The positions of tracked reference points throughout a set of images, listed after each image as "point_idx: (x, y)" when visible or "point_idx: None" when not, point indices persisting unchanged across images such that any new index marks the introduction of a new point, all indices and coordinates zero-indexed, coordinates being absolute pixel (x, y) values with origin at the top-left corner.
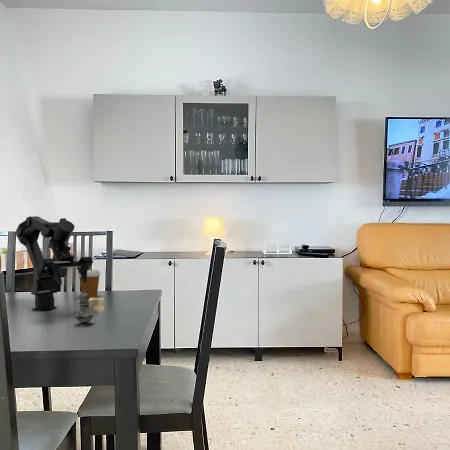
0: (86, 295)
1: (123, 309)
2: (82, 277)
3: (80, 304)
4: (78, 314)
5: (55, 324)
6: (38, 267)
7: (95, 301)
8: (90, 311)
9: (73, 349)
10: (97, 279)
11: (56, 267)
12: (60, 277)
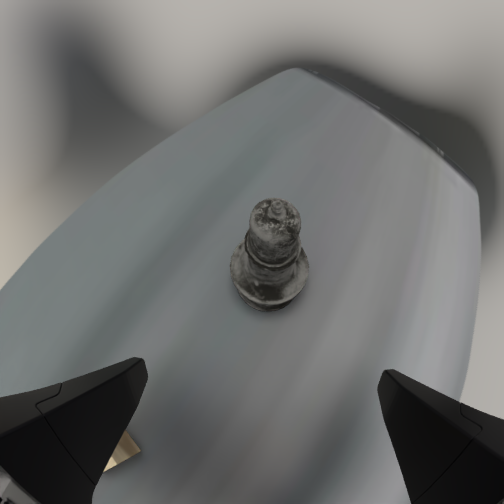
0: (274, 198)
1: (31, 368)
2: (119, 426)
3: (299, 238)
4: (299, 266)
5: (344, 374)
6: None
7: None
8: (129, 439)
9: (388, 120)
10: None
11: (501, 444)
12: (413, 393)
